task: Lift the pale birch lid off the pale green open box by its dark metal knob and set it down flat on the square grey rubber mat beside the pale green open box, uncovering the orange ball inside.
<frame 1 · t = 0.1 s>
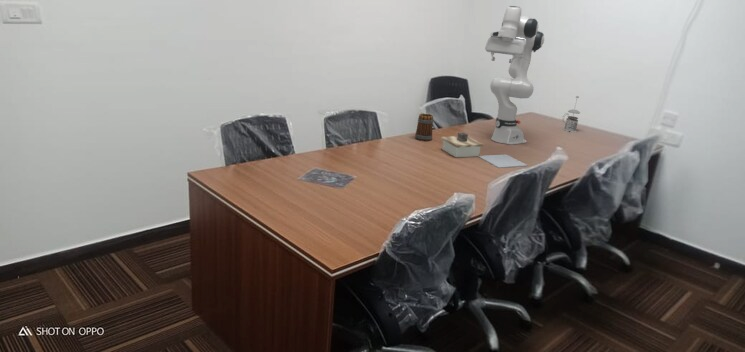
hand: (501, 61, 268), 52 cm above the table, tool tilted 20°, fingers open, 8 cm apart
french press: (568, 130, 358), on the table
ball: (460, 147, 283), point 3 cm above the table, touching pale green open box
pale green open box: (460, 152, 284), on the table
mat: (502, 161, 275), on the table
mug: (423, 138, 308), on the table
lid: (461, 142, 282), point 6 cm above the table, touching pale green open box
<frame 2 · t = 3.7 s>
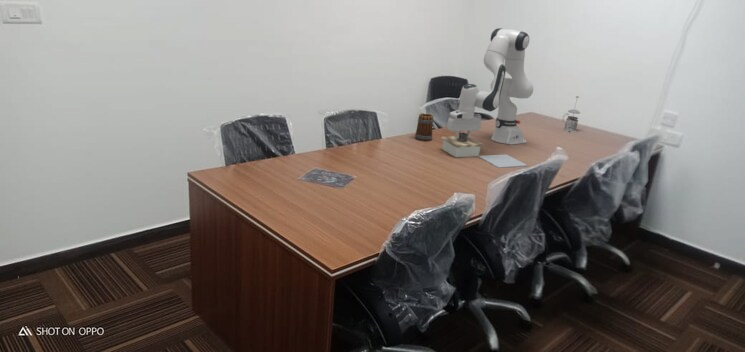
hand: (462, 138, 281), 9 cm above the table, tool pointing down, fingers closed on lid, 4 cm apart
lid: (461, 142, 282), point 6 cm above the table, touching pale green open box, gripper
everything else where it was.
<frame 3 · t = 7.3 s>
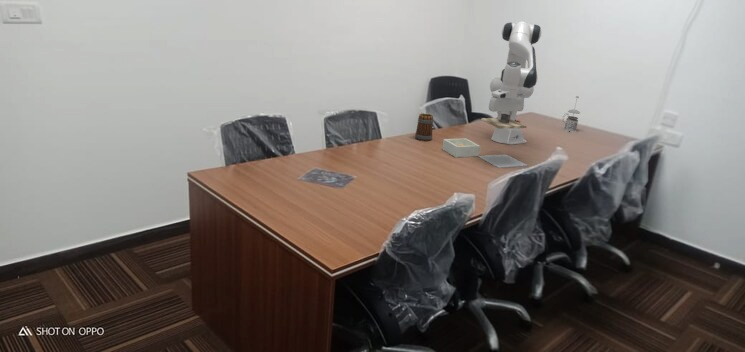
hand: (504, 119, 268), 23 cm above the table, tool pointing down, fingers closed on lid, 4 cm apart
lid: (503, 124, 269), point 21 cm above the table, touching gripper
everything else where it was.
when the fingers open (6 cm above the table, at t = 10.7 s): lid drops 2 cm, resting on mat.
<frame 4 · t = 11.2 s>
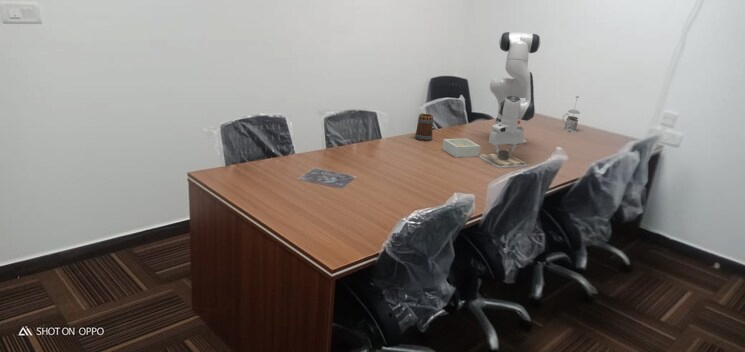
hand: (504, 151, 273), 6 cm above the table, tool pointing down, fingers open, 8 cm apart
lid: (502, 160, 275), resting on mat
everything else where it was.
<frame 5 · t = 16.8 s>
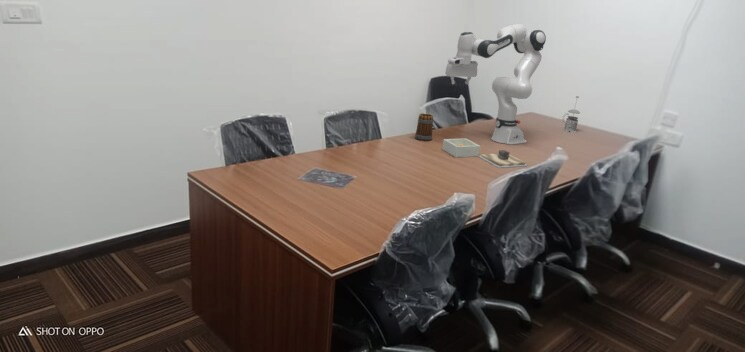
hand: (459, 84, 300), 34 cm above the table, tool pointing down, fingers open, 8 cm apart
nothing on the table moved.
at the end: lid inside the target area on the mat (0.1 cm from its centre), point 0.5 cm above the mat's base; lid tilted 0°; the gripper is holding nothing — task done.
